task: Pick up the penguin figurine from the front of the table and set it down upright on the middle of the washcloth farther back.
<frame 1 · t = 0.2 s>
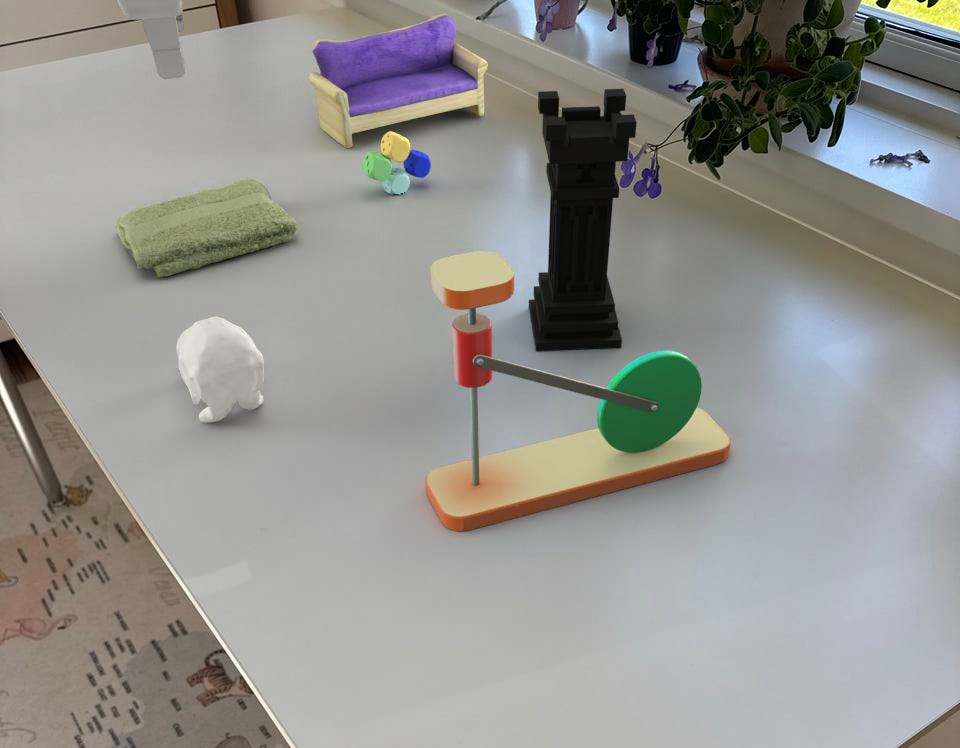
hand: (172, 51, 73), 28 cm above the table, tool pointing down, fingers open, 8 cm apart
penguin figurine: (220, 397, 93), on the table
crank mechanism: (579, 473, 85), on the table
dice: (398, 191, 121), on the table
washcloth: (208, 241, 113), on the table
toy sofa: (402, 124, 134), on the table
chess piece: (573, 328, 100), on the table
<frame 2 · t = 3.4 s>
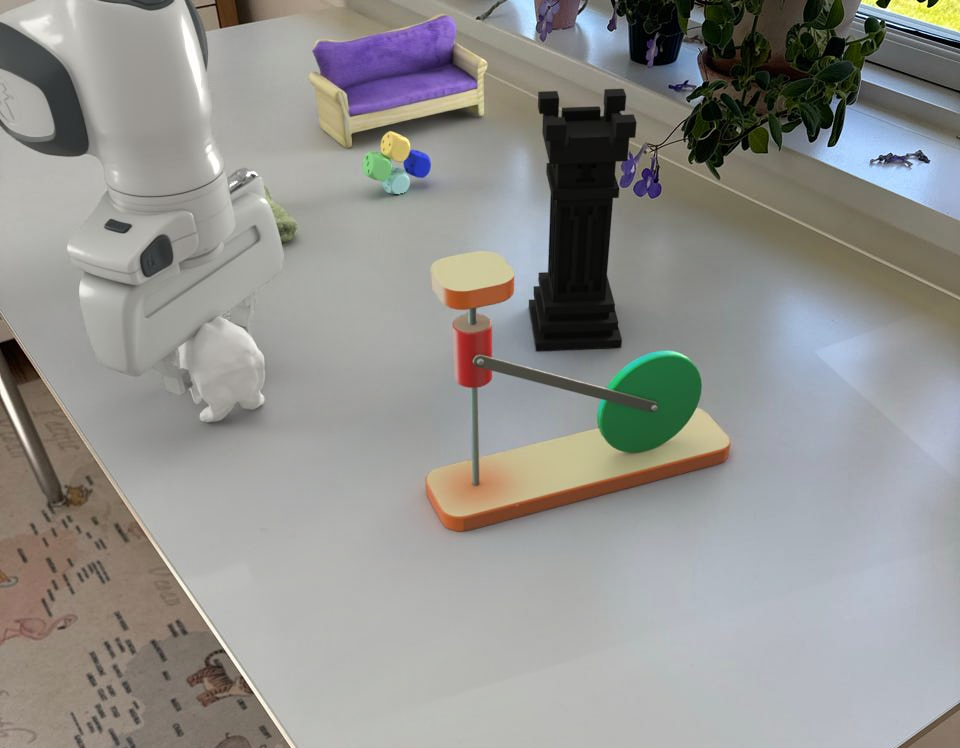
hand: (211, 366, 90), 3 cm above the table, tool pointing down, fingers closed on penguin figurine, 7 cm apart
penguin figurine: (221, 397, 93), on the table, touching gripper
everything else where it was.
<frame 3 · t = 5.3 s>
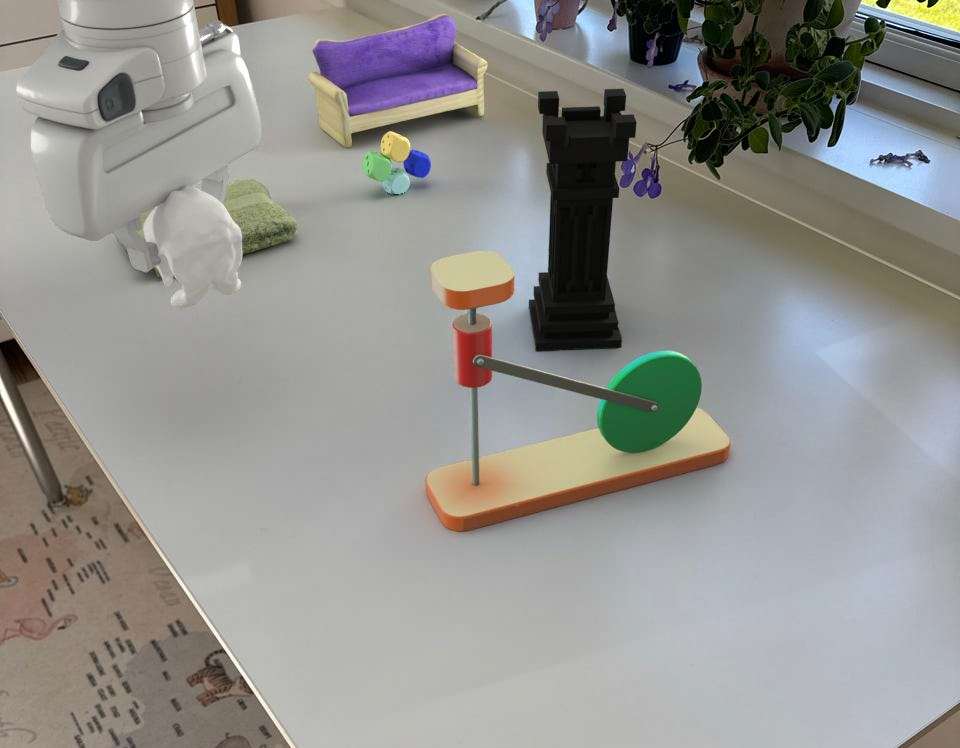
hand: (180, 245, 82), 14 cm above the table, tool pointing down, fingers closed on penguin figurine, 6 cm apart
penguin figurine: (193, 284, 85), point 11 cm above the table, touching gripper
everything else where it was.
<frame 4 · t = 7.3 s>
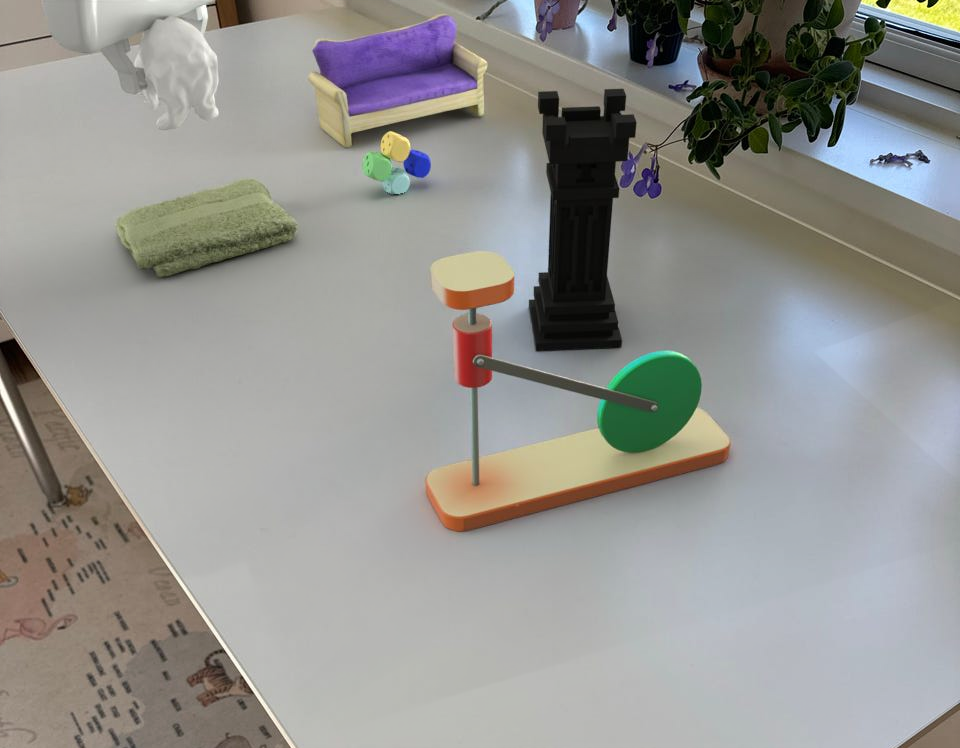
hand: (165, 76, 94), 19 cm above the table, tool pointing down, fingers closed on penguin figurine, 6 cm apart
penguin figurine: (177, 115, 97), point 15 cm above the table, touching gripper
everything else where it was.
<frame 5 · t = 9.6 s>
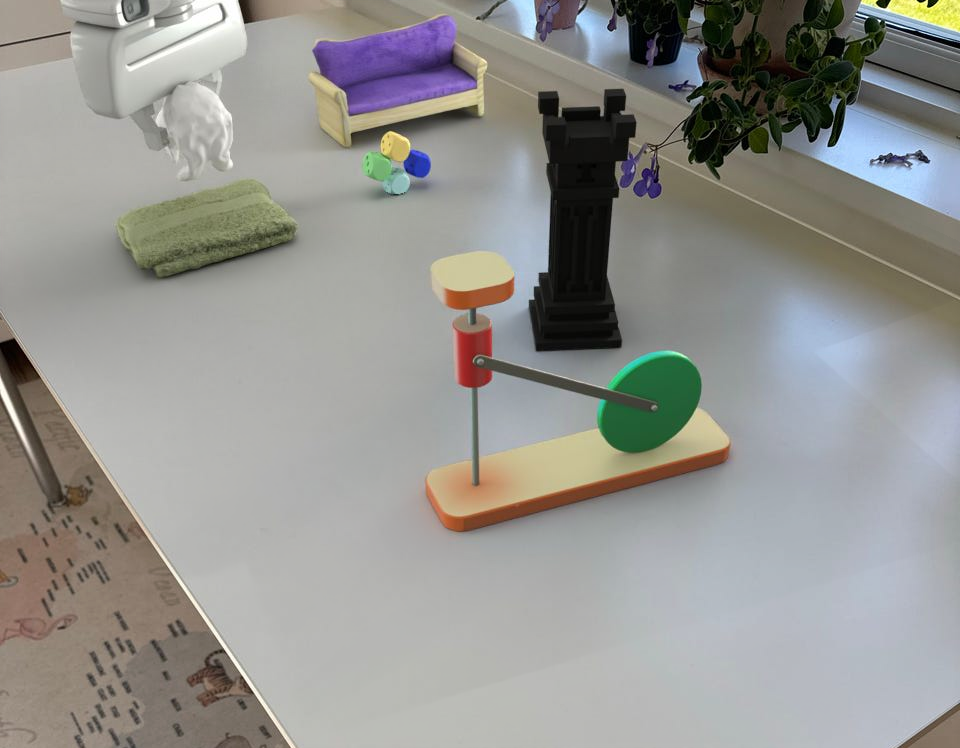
hand: (184, 133, 105), 11 cm above the table, tool pointing down, fingers closed on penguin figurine, 6 cm apart
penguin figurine: (195, 166, 107), point 8 cm above the table, touching gripper
everything else where it was.
when the fingers open (6 cm above the table, at t = 11.3 s): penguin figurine stays where it is, resting on washcloth.
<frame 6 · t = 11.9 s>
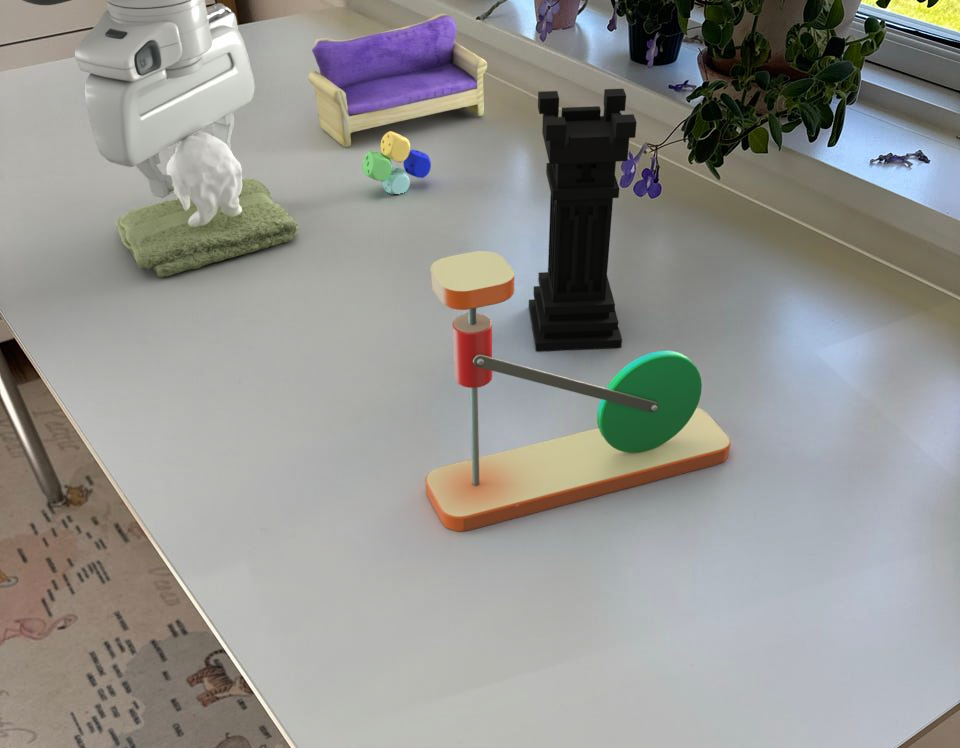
hand: (193, 176, 108), 7 cm above the table, tool pointing down, fingers open, 8 cm apart
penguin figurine: (205, 211, 111), point 3 cm above the table, touching washcloth
washcloth: (208, 241, 113), on the table, touching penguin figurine
everything else where it was.
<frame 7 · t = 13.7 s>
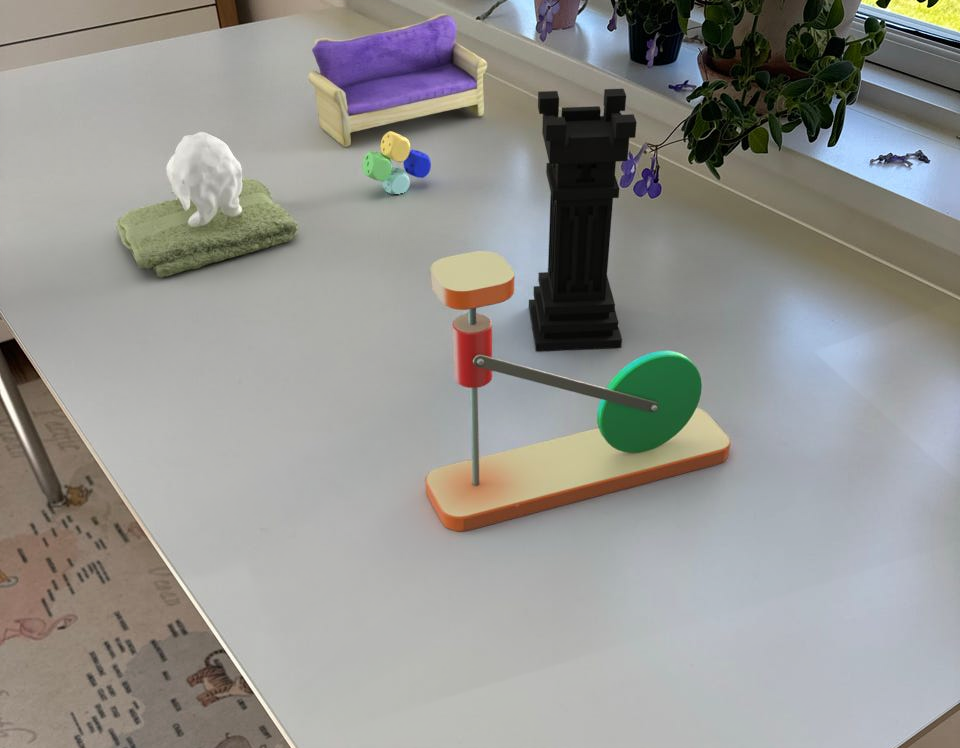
nothing on the table moved.
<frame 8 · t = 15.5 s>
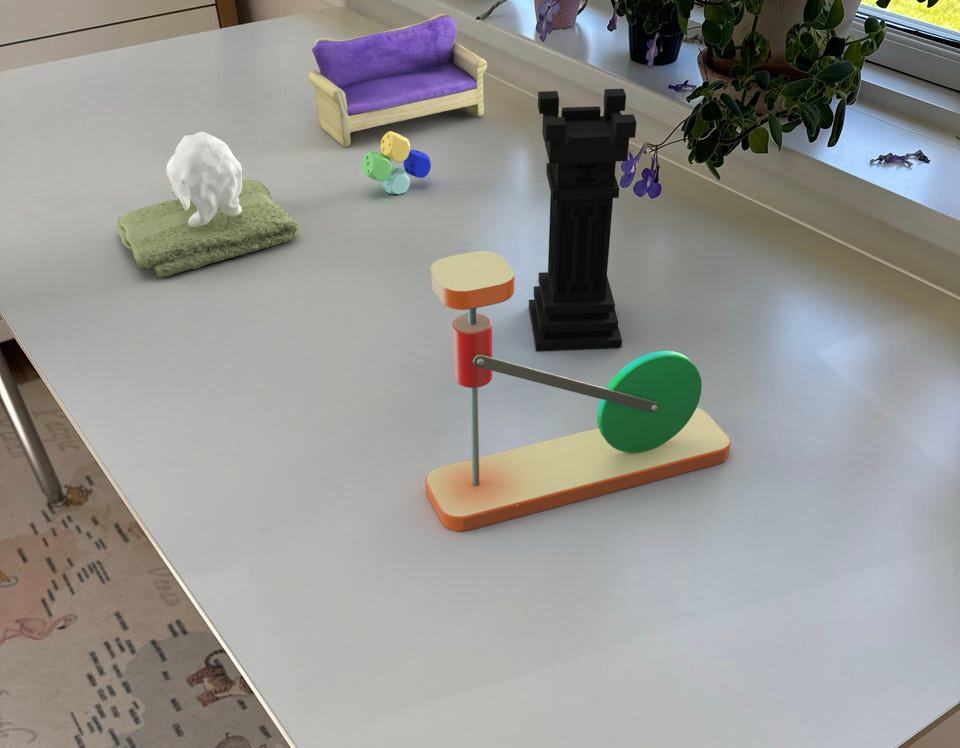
nothing on the table moved.
at the end: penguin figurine inside the target area on the washcloth (0.3 cm from its centre), point 3.2 cm above the washcloth's base; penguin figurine tilted 0° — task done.
